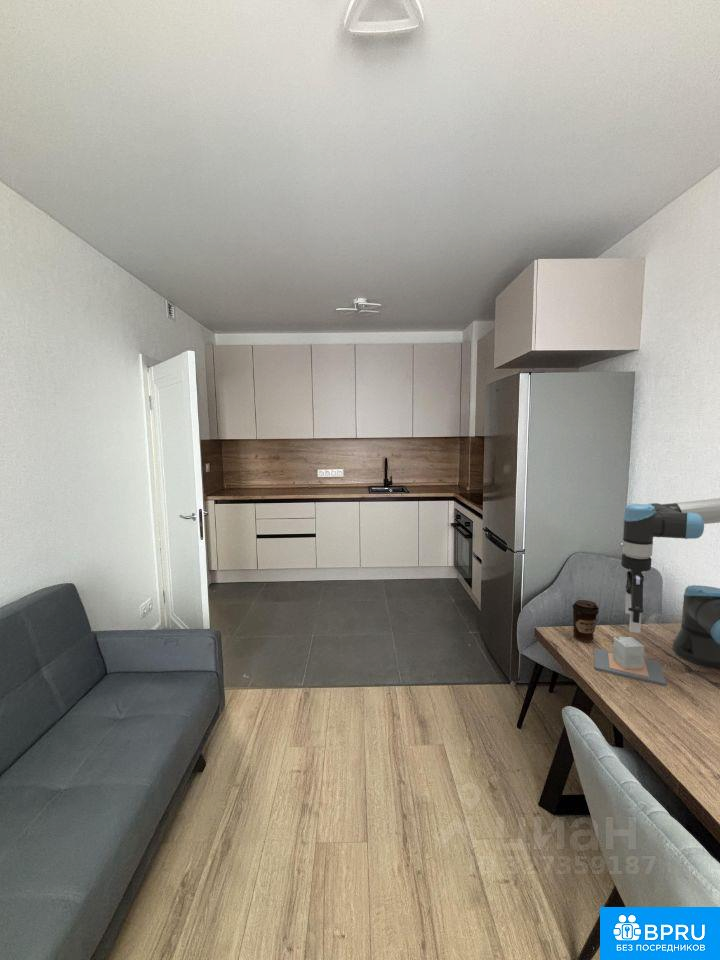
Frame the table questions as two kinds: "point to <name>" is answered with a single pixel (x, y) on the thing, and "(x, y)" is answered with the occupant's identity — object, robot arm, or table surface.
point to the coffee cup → (584, 620)
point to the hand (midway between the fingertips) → (632, 622)
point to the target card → (647, 674)
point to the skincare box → (628, 653)
